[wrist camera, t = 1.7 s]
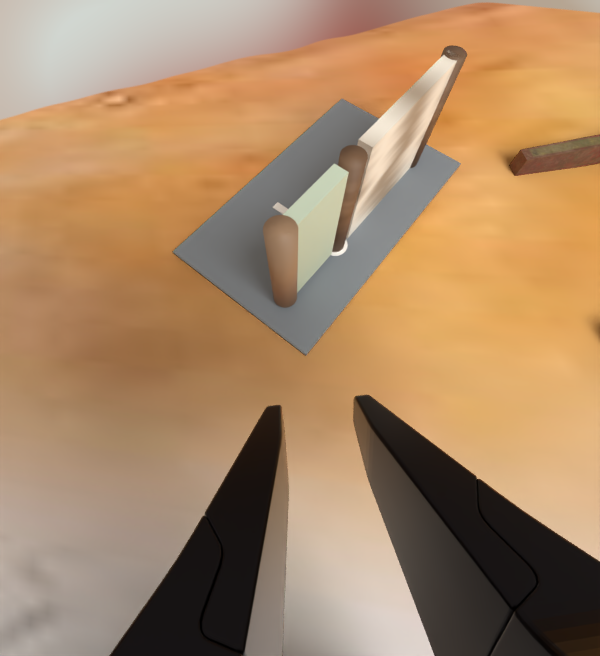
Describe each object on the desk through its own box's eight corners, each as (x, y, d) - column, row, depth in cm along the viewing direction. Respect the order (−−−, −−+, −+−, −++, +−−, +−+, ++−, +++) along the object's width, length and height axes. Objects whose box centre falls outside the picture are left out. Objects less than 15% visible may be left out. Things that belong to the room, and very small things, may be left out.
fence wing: (317, 244, 24) (328, 160, 16) (335, 256, 24) (354, 175, 16) (268, 298, 22) (255, 231, 15) (286, 312, 22) (283, 250, 14)
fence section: (336, 256, 24) (357, 170, 16) (321, 245, 25) (334, 156, 17) (420, 160, 28) (471, 52, 20) (405, 152, 28) (450, 42, 20)
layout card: (305, 355, 22) (306, 354, 21) (173, 253, 24) (172, 250, 24) (459, 166, 28) (461, 162, 28) (341, 101, 31) (342, 97, 30)
